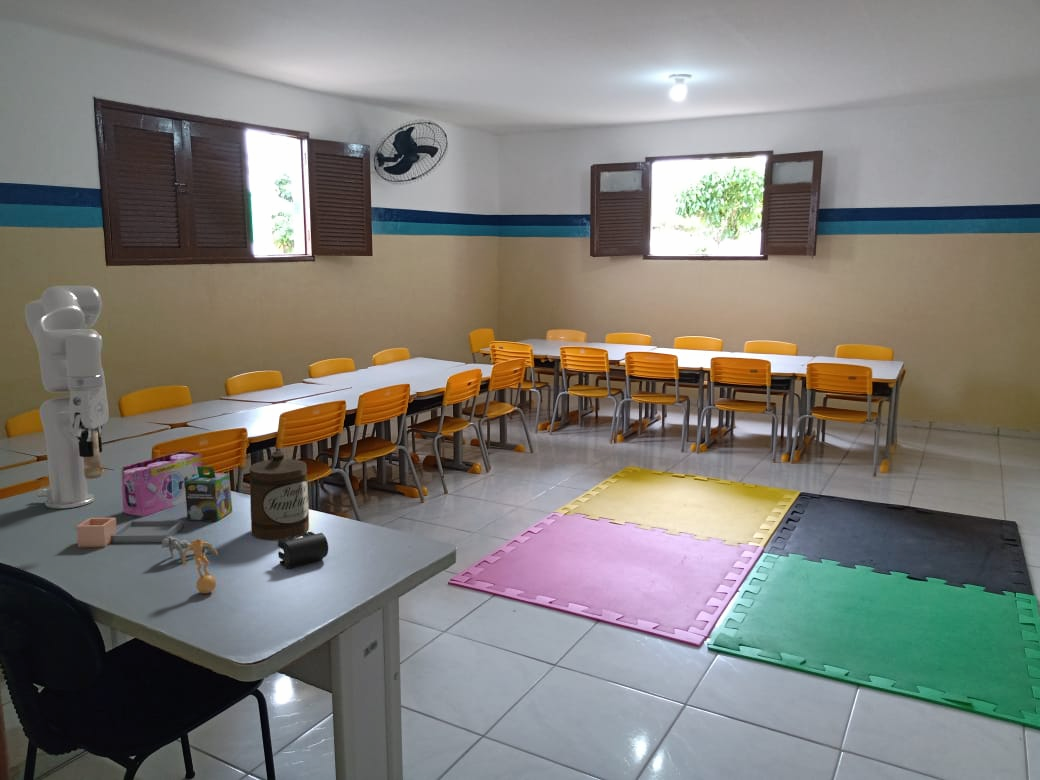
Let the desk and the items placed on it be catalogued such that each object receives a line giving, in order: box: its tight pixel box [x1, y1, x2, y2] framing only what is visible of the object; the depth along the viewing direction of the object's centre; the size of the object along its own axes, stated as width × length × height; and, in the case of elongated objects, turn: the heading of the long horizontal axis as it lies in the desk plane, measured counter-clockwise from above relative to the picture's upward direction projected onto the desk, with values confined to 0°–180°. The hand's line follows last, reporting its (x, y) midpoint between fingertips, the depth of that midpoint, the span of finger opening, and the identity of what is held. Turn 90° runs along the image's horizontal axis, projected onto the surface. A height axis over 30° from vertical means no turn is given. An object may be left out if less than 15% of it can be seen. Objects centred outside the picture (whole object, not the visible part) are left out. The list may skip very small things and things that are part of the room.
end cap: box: [277, 531, 329, 569], centre depth 186 cm, size 10×7×7 cm
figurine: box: [182, 538, 219, 594], centre depth 169 cm, size 8×6×12 cm
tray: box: [110, 519, 185, 544], centre depth 205 cm, size 14×12×2 cm
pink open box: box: [76, 517, 118, 548], centre depth 198 cm, size 7×7×6 cm
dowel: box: [81, 426, 102, 480], centre depth 195 cm, size 4×4×15 cm
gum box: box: [121, 450, 202, 518], centre depth 229 cm, size 24×8×14 cm, turn 157°
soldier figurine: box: [161, 536, 213, 562], centre depth 189 cm, size 6×5×12 cm
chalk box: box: [185, 465, 233, 522], centre depth 219 cm, size 9×9×15 cm
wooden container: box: [249, 450, 310, 541], centre depth 207 cm, size 15×15×22 cm
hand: (91, 453), depth 195 cm, fingers closed on dowel, 3 cm apart
